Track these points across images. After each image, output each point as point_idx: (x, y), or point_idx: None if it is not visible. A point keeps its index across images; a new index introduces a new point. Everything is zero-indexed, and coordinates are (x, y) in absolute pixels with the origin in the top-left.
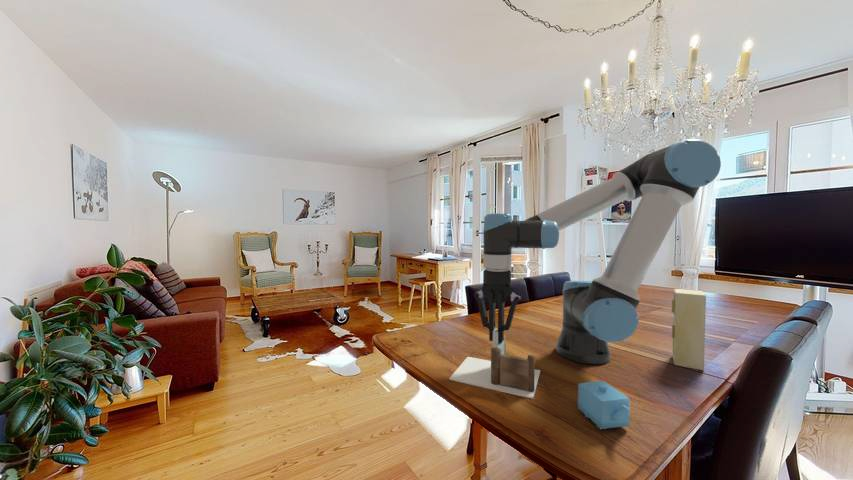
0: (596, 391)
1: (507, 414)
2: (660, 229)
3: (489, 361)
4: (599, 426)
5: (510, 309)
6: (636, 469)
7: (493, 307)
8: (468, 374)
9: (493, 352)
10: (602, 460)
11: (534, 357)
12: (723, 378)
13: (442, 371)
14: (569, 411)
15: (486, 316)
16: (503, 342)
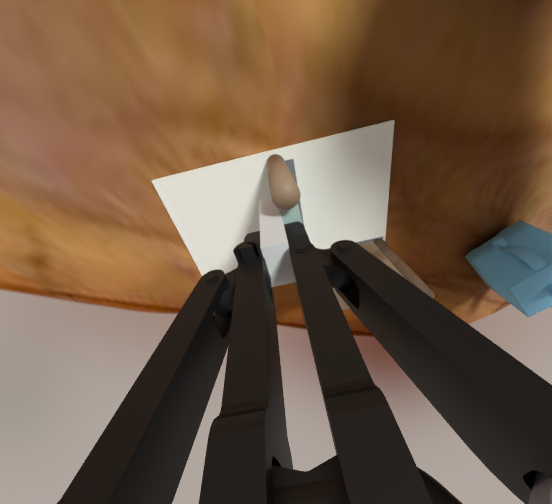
0: (535, 296)
1: (349, 313)
2: None
3: (229, 168)
4: (484, 282)
5: (440, 400)
6: (495, 310)
7: (285, 425)
8: (233, 267)
9: None
10: (462, 317)
11: (433, 297)
12: None
13: (175, 281)
14: (443, 258)
15: (214, 327)
16: (301, 221)
